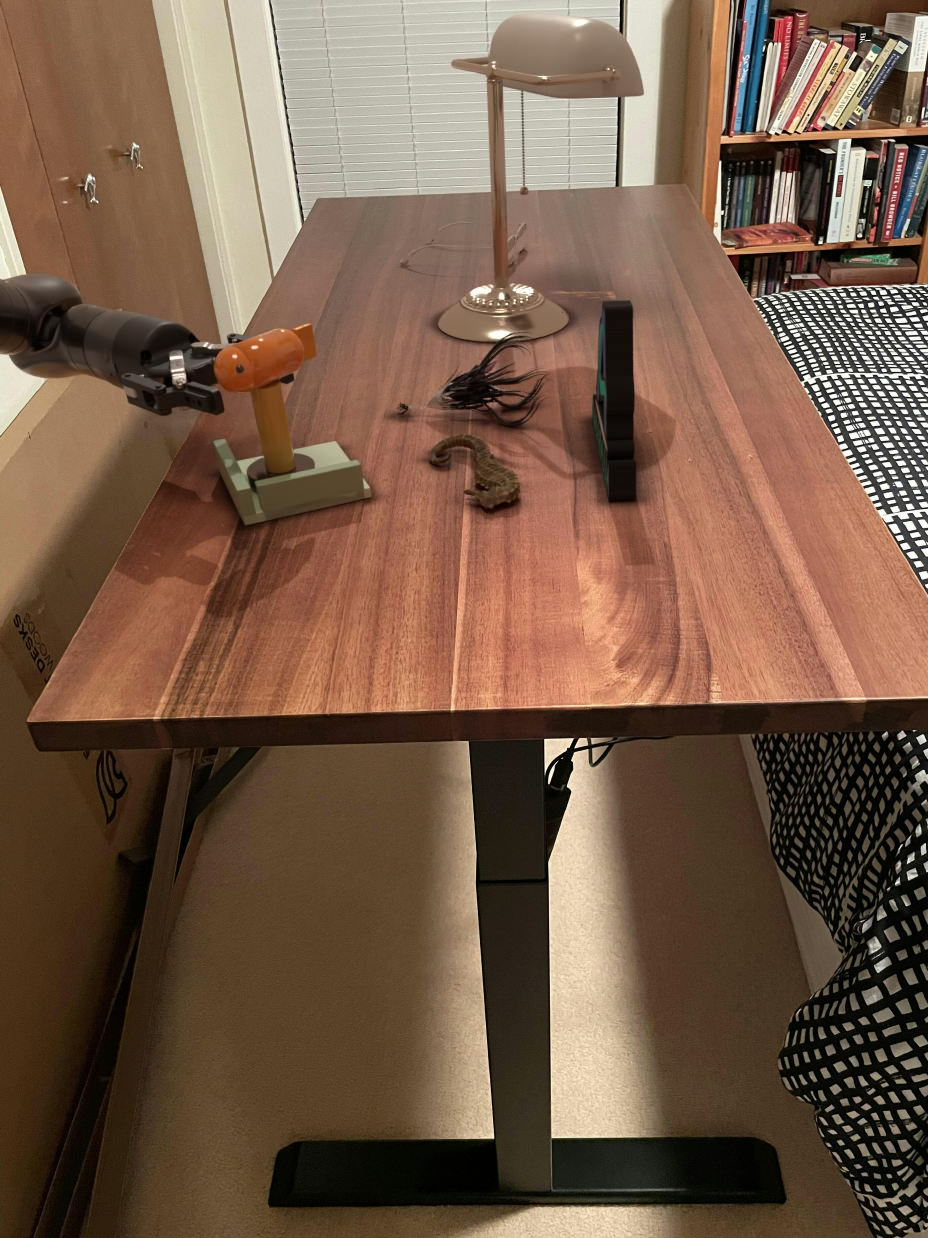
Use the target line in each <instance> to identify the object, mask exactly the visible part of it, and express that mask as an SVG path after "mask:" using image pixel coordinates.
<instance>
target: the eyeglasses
mask: <svg viewBox="0 0 928 1238" xmlns="http://www.w3.org/2000/svg"><path fill="white" fill-rule="evenodd" d="M462 224H463V225H467V224H468V225H469V224H471V222H470V221H457V222H453V223H450V224H447V225H445V226H442V227H441V228H439V229H438V230H442V229H443V230H445V229H446V228H449V227H451V226H455V225H462ZM475 224H476V225H477V224H479V225H482V224H484V225H492V222H475ZM507 226H518V227H519V228H518V229H517V233H516V234H515V235H511V236H510V237H508V253H509V252H510V251H511V250H512V248H513V247H514V245H515V246H516V242H515V240H516V241H517V240H518V239H519V238H520V237H521V236H522V235H523V233H524V231H525V230H526V231H527V222H518V223H507ZM443 230H442V231H443ZM431 247H441V248H445V247H446V248H464V246H461V245H460V246H459V245H444V244H426V245H424V246H423V245H422V246H420V247H419V248H416V249H414V250H412V251H411V252H409V253H408V254H407V255H412V256H414V255H415V254H416V253H417V252H419V251H421V250H423V249H425V248H431ZM466 248H467V249H469V248H470V249H493V246H492V247H489V246H488V247H487V246H466ZM514 260H515V255H514V256H513V255H512V257H511V258H510V259H509V260H508V266H510V265H512V264H513V262H514ZM409 262H410V260H404V259H403V258H402V259H401V260H400V261H399V264H400V265H401V266H407V265H408V264H409Z"/></svg>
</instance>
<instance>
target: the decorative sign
mask: <svg viewBox="0 0 928 1238" xmlns="http://www.w3.org/2000/svg"><path fill="white" fill-rule="evenodd" d="M597 338H598V339H597V371H596V383H595V394H594V393H593V394H592V403H591V424H592V428H593V429H592V430H593V433H594V437H595V443H596V446H597V453H598V459H599V463H600V465H601V471H602V476H603V481H604V486H605V491H606V493H607V500H608V501H620V500H621V501H622V500H637V499H636V498H637V460H636V459H635V451H636V450H635V449H636V448H635V427H634V426H635V424H634V422H635V421H634V420H635V419H634V417H635V415H634V414H635V402H636V400H635V399H636V398H635V397H636V396H635V393H636V392H635V390H636V389H635V377H634V306H633V304H632V301H631V300H630V299H627V300H603V301H602V305H601V317H600V319H599V325H598V336H597Z"/></svg>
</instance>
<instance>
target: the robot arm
mask: <svg viewBox="0 0 928 1238" xmlns="http://www.w3.org/2000/svg"><path fill="white" fill-rule="evenodd" d="M85 302H86V301H85V299H84V296H83V295H82V292H81V291H80V290H79V289H78V288H77V286H75V284H74V283H72V282H70V281H69V280H67V279H66V278H63V277H61V276H57V275H54V274H50V273H36V272H35V273H34V272H33V273H25V274H19V275H15V276H12V277H8V278H4V279H2V278H0V355H1V356H2V355H4V356H8V357H9V359H10V361H11V362H12V364H13V365H14V366H15V367H16V368H17V369H19V370H20V371H22V372H23V373H24V374H27V375H29V376H31V377H36V378H40V379H49V380H50V379H51V380H52V379H67V378H71V377H77V376H89V377H93V378H95V379H97V380H98V379H99V380H102V381H105V382H107V383H109V384H111V385H113V386H114V387H116V388H119V389H122V390H123V391H124V393H125V395H126V396H125V397H126V399H127V403H128V404H129V405H132V406H134V407H137V408H140V409H142V410H145V411H148V412H150V413H152V414H155V415H157V416H160V417H167V416H171V415H172V414H173V409H175V408H178V410H179V411H184V412H185V411H190V410H191V409H192V410H195V411H197V412H198V411H199V412H201V413H207V414H210V415H214V416H219V415H222V414H224V413H225V412H226V411H225V410H226V409H225V405H224V401H223V396H222V393H221V391H220V389H218V388H215V387H216V386H217V385H220V384H219V383H218V381H217V379H216V377H215V374H214V366H213V365H212V364H211V362H210V361H211V359H212V358H216V357H217V355H218V354H219V352H220V351H222V350H223V349H224V348H226V347H229V346H231V345H234V344H236V343H239V342H242V341H244V340H247V339H249V338H252V337H253V336H252V335H251V336H250V335H245V334H240V333H237V332H236V333H235V332H231V333H229V334H227V335H226V341H227V343H211V342H209V341H201V340H200V339H198V337H197V336H196V335H195V333H193V332H192V331H191V330H190V329H189V328H188V327H186V326H185V325H183V324H181V323H178V322H174V321H171V320H167V319H164V318H159V317H155V316H151V315H147V314H144V313H140V312H137V311H136V312H135V311H131V310H129V311H128V310H118V309H114V308H109V307H106V306H102V305H98V304H94V303H93V304H92V303H85ZM279 380H280V381H281V384H283V385H289V384H291V383H293V382H295V373H292V374H290V375H288V376H285V377H283V378H281V379H279Z"/></svg>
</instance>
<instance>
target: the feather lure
mask: <svg viewBox="0 0 928 1238" xmlns="http://www.w3.org/2000/svg"><path fill="white" fill-rule="evenodd" d="M517 333H528V331H519V332H514V333H511V334H508V335H506V336H504V337H503V338H502V339H500V340H499V341H498V342H495V344H493V346H492V347H491V348H490V350H489V351H488V352H487V354H485V356H484V357H483V359H482V360H481V361H480V363H479V364H475V365H474V366H473V367H472V368H471V369H470V370H469V371H467V372H465V373H462V372H463V371H464V369H462V370H461V371H459V374H457V375H456V377H454V376H455V374H456V373H457V372H458V369H459V368H460V365H461V363H458V366H457V368H456V369H455V370H454V372H453V373H452V374H451V376H450V377H449V378H448V379H447V381H446V382H445V383H444V384H443V385H442V386H440V388H439V389H438V390H437V391H435V393H434V394H433V395H432V396H431V398H430V399H429V400H428V401H427V403H426V404H425V406H424V405H422V406H420V410H422V409H427V408H430V409H433V410H439V411H451V412H453V411H472V412H474V413H478V414H481V415H483V417H486V415H484V414H483V413H487V412H490V413H491V414H492V416H493V417H494V418H495V419H496V420H497V421H498V422H500V423H501V424H503V425H505V426H507V427H512V428H513V427H519V426H522V425H524V424H526V423H527V422H528V421H529V420H531V418H532V417H533V416H534V415H535V413H536V411H537V410H538V408H539V406H540V405H541V404H542V403H543V402H544V401H545V400H546V399H549V398H550V396H546V397H544V396H545V394H544V393H546V392H549V391H551V390H550V389H547V390H545V391H542V388H543V387H544V385H545V383H548V381H549V378H548V377H547V376H550V373H547V371H546V370H545V371H544V370H541V369H543V366H540V367H533V368H530V369H529V370H528V371H526V372H525V373H522V374H521V375H518V376H516V377H506V376H504V375H507V374H510V373H511V374H512V373H516V372H517V371H518V370H511V369H509V367H511V366H514V365H516V362H513V363H510V364H508V365H505V366H503V367H501V368H500V369H497V368H496V367H498V368H499V366H498V365H497V363H498V362H499V360H498V359H497V360H494V359H496V358H497V357H498V356H499V355H500V354H501V353H502V352H504V351H506V349H510V348H513V349H515V350H517V351H519V352H521V353H523V355H524V356H526V355H525V354H526V353H525V351H524V350H526V351H527V352H530V350H531V349H530V347H529V346H530V344H531V342H530V340H523V341H514V340H513V341H509V340H512V339H517V338H524V337H528V336H513V337H510V338H507V339H505V338H506V337H508V336H510V335H513V334H517ZM530 334H531V333H530ZM534 334H535V333H534ZM531 335H532V334H531ZM532 336H533V335H532ZM528 338H531V337H528ZM504 339H505V340H504ZM525 339H527V338H525ZM502 340H503V341H502ZM531 340H534V341H536V338H535V339H533V338H532V339H531ZM501 341H502V342H501ZM508 341H509V342H508ZM536 342H537V341H536ZM511 343H517V344H511ZM529 343H530V344H529ZM506 344H508V345H506ZM519 344H521V345H519ZM504 345H505V346H504ZM523 345H524V346H523ZM525 346H526V347H527V348H528V349H527V348H526V347H525ZM522 348H523V349H524V350H523V349H522ZM529 354H530V355H529V356H532V353H529ZM493 360H494V361H493ZM494 368H496V369H497V370H496V369H494ZM493 369H494V371H493ZM539 370H541V371H539ZM535 371H536V372H535ZM461 373H462V374H461ZM539 373H540V374H539ZM553 375H554V376H556V373H555V374H554V373H553ZM536 377H537V378H536ZM534 378H536V382H535V383H534V386H533V387H532V390H531V391H524V390H522V389H505V388H499V387H497V386H514V385H518V384H522V383H524V382H527V381H530V380H532V379H534ZM545 378H546V379H545ZM451 379H452V380H451ZM543 379H545V381H544V382H543ZM552 381H553V382H554V380H553V379H551V382H552ZM548 384H549V383H548ZM541 391H542V392H541ZM520 393H525V394H526V395H527V396H526V395H523V394H520ZM542 394H543V395H542ZM501 397H514V398H515V397H517V398H519V399H520V398H521V400H520V401H519V402H517V403H514V404H508V403H505V402H503V401H502V400H501V399H499V398H501ZM542 397H544V398H542ZM541 398H542V399H541ZM537 401H539V402H537ZM495 403H497V404H498V405H499V406H501V407H503V408H504V409H507V410H517V409H521V408H523V407H524V406H526V405H527V404H529V403H530V404H529V407H528V408H527V410H526V413H525V415H524V416H522V417H521V418H518V419H516V420H512V421H510V420H506V419H504V418H503V417H501V416H500V415H499V414H498V413H497V412H495V410H494V409H493V408H492V407H491V406H490V405H492V406H493V404H495ZM536 403H537V404H536ZM489 404H490V405H489ZM543 404H544V403H543ZM535 406H536V407H535ZM483 407H486V408H487V409H480V408H483ZM414 408H415V410H418V409H419V407H418V403H417V401H415V403H414V404H413V405H412V404H410V405H408V404H407V403H402V402H399V404H397V407H396V410H397V411H398V412H397V413H398V416H403V415H405V413H406V412H408V411H410V412H411V411H412V412H413V410H414ZM533 409H534V410H533ZM399 411H400V412H399ZM482 412H483V413H482ZM530 414H531V415H530ZM487 419H488V421H489V418H487Z"/></svg>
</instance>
